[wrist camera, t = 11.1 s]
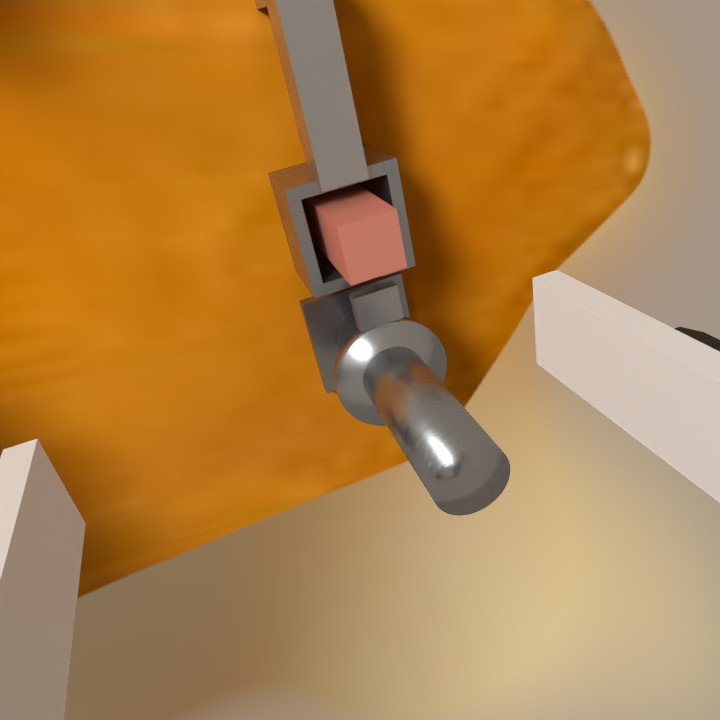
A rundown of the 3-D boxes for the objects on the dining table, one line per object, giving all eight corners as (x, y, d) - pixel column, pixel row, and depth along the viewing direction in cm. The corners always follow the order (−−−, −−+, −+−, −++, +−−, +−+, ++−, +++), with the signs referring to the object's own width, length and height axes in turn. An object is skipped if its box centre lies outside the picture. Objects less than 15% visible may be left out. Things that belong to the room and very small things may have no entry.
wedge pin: (312, 240, 44) (350, 285, 35) (299, 192, 42) (336, 227, 34) (358, 226, 45) (407, 267, 36) (348, 177, 43) (396, 209, 34)
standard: (324, 387, 50) (413, 562, 33) (290, 272, 45) (376, 408, 27) (413, 356, 51) (544, 508, 34) (391, 240, 46) (532, 351, 29)
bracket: (296, 270, 45) (316, 301, 39) (207, -41, 35) (217, -59, 29) (386, 241, 46) (418, 267, 40) (325, -68, 36) (356, -90, 30)
